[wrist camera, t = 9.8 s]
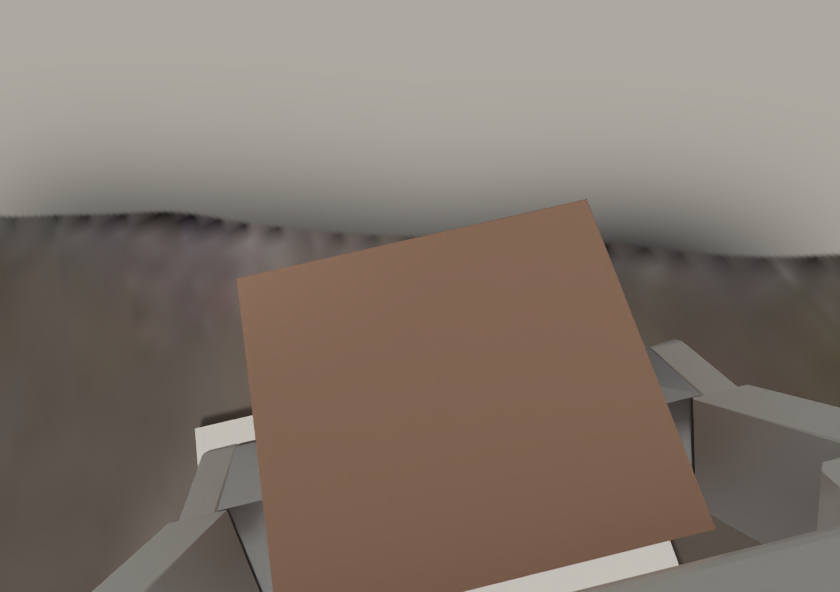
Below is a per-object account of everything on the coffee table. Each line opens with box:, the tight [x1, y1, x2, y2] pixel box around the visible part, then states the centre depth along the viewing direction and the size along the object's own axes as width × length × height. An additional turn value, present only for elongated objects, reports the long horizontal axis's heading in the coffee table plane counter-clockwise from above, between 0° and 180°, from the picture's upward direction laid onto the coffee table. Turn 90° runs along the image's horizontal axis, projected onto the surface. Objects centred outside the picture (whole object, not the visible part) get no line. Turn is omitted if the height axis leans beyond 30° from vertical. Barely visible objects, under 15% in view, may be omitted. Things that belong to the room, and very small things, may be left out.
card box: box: [237, 199, 716, 592], centre depth 11 cm, size 4×4×10 cm
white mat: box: [195, 415, 679, 592], centre depth 25 cm, size 18×11×1 cm, turn 103°
